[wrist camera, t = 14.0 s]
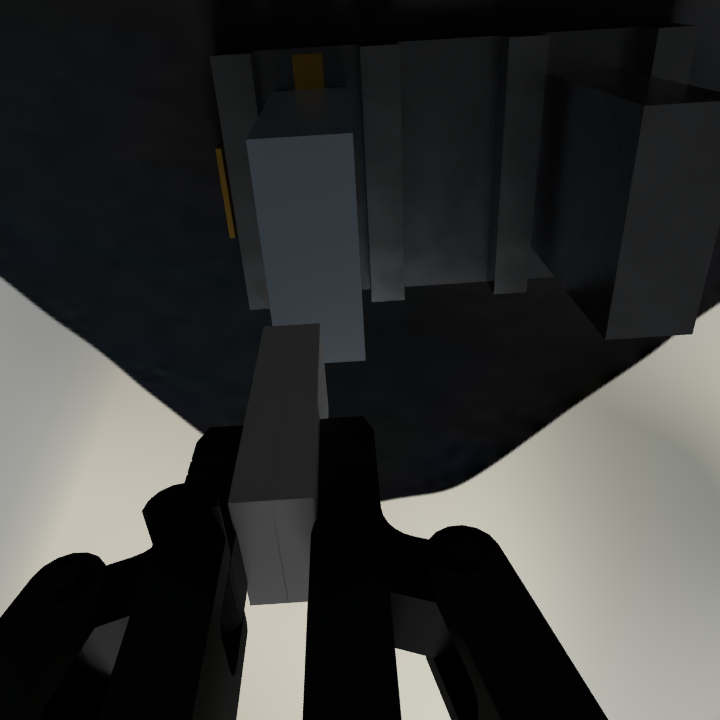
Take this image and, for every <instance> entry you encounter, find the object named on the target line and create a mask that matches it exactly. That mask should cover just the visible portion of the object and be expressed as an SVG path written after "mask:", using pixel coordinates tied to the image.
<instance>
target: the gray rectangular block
mask: <svg viewBox="0 0 720 720" xmlns="http://www.w3.org/2000/svg"><path fill="white" fill-rule="evenodd" d="M246 144H247V151H248V158H249V165H250V172H251V179H252V186H253V193H254V200H255V206H256V213H257V220H258V227H259V234H260V241H261V248H262V255H263V262H264V269H265V276H266V283H267V290H268V297H269V304H270V311H271V318H272V325H273V326H284V325H299V324H314V323H320V327H321V337H322V348H323V358H324V363H332V362H347V361H363V360H365V344H364V326H363V308H362V290H361V272H360V254H359V236H358V219H357V201H356V183H355V165H354V147H353V131H352V124H351V116H350V109H349V101H348V94H347V87H338V88H322V89H306V90H290V91H274V92H272V94H271V96H270V97H269V99H268V101H267V103H266V104H265V106H264V108H263V110H262V112H261V113H260V115H259V117H258V119H257V121H256V122H255V124H254V126H253V128H252V130H251V131H250V133H249V135H248V137H247V139H246Z"/></svg>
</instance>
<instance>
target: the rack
mask: <svg viewBox="0 0 720 720" xmlns="http://www.w3.org/2000/svg"><path fill="white" fill-rule="evenodd" d="M698 27H699V26H697V25H684V24H675V23H667V24H651V25H635V26H619V27H603V28H587V29H570V30H554V31H538V32H522V33H506V34H490V35H474V36H458V37H442V38H426V39H410V40H394V41H378V42H362V43H346V44H329V45H313V46H297V47H281V48H265V49H249V50H233V51H217V52H214V53H212V55H211V56H210V61H211V67H212V73H213V80H214V86H215V92H216V99H217V105H218V111H219V117H220V124H221V130H222V136H223V142H220V144H219V145H218V146H217V147H216V149H215V150H216V156H217V162H218V168H219V174H220V181H221V187H222V193H223V199H224V205H225V211H226V217H227V223H228V229H229V235H230V238H235V237H236V235H237V232H238V237H239V243H240V250H241V256H242V262H243V269H244V275H245V281H246V287H247V294H248V300H249V306H250V310H254V309H269V308H270V304H269V297H268V290H267V283H266V276H265V269H264V262H263V255H262V248H261V241H260V234H259V227H258V220H257V213H256V206H255V200H254V193H253V186H252V179H251V172H250V165H249V158H248V151H247V144H246V139H247V137H248V135H249V133H250V131H251V130H252V128H253V126H254V124H255V122H256V121H257V119H258V117H259V115H260V113H261V112H262V110H263V108H264V106H265V104H266V103H267V101H268V99H269V97H270V96H271V94H272V92H274V91H290V90H306V89H322V88H338V87H347V94H348V101H349V109H350V116H351V124H352V131H353V147H354V165H355V183H356V201H357V219H358V236H359V254H360V272H361V289H370V290H371V297H372V302H378V301H394V300H405V296H404V287H406V286H422V285H438V284H453V283H469V282H484V281H487V282H488V284H489V286H490V288H491V290H492V292H493V293H494V294H503V293H519V292H526V290H527V279H531V278H547V277H555V278H556V279H557V280H558V282H559V283H560V284H561V285H562V287H563V288H564V289H565V290H566V292H567V293H568V294H569V295H570V296H571V298H572V299H573V300H574V301H575V303H576V304H577V305H578V306H579V308H580V309H581V310H582V311H583V313H584V314H585V315H586V316H587V318H588V319H589V320H590V321H591V323H592V324H593V325H594V326H595V328H596V329H597V330H598V331H599V333H600V334H601V335H602V336H603V338H604V339H605V340H609V339H624V338H640V337H655V336H671V335H686V334H692V333H693V329H694V325H695V321H696V317H697V313H698V309H699V305H700V301H701V297H702V293H703V289H704V285H705V281H706V277H707V273H708V269H709V265H710V261H711V256H712V252H713V248H714V244H715V240H716V236H717V232H718V228H719V224H720V92H717V91H713V90H709V89H705V88H700V87H696V86H692V85H687V83H688V78H689V73H690V68H691V63H692V58H693V53H694V48H695V43H696V38H697V33H698Z"/></svg>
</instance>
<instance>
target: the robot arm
mask: <svg viewBox="0 0 720 720" xmlns="http://www.w3.org/2000/svg"><path fill="white" fill-rule="evenodd" d="M142 512H143V516H144V519H145V522H146V525H147V528H148V531H149V534H150V537H151V540H152V543H153V546H152V548H150V549H149V550H147V551H146V552H144V553H142V554H139V555H137V556H134V557H132V558H128V559H126V560H122V561H119V562H116V563H113V564H110V565H107V566H106V565H105V564H104V562H103V561H102V560H101V559H100V557H98V556H96V555H93V554H90V553H72V554H69V555H66V556H63V557H60V558H57V559H56V560H54V561H52V562H51V563H49V564H47V565H45V566H44V567H43V568H42V569H40V571H38V572H37V573H36V574H35V575H34V576H33V577H32V578H31V580H30V581H29V582H28V583H27V585H26V586H25V587H24V588H23V590H22V591H21V592H20V593H19V595H18V596H17V597H16V599H15V600H14V601H13V602H12V604H11V605H10V606H9V607H8V609H7V610H6V611H5V612H4V614H3V615H2V616H1V617H0V720H236V716H237V708H238V701H239V693H240V685H241V677H242V670H243V662H244V654H245V647H246V639H247V622H246V616H245V612H244V607H245V601H246V593H247V592H248V596H249V600H250V605H262V604H277V603H291V602H306V601H308V611H307V635H306V657H305V680H304V681H305V682H304V703H303V720H401V711H400V699H399V688H398V678H397V667H396V656H395V648H398V649H402V650H406V651H410V652H414V653H417V654H421V655H425V656H426V658H427V661H428V663H429V666H430V668H431V671H432V673H433V676H434V678H435V681H436V683H437V686H438V688H439V690H440V693H441V695H442V698H443V700H444V703H445V705H446V708H447V710H448V713H449V715H450V718H451V720H608V719H607V717H606V715H605V714H604V712H603V711H602V709H601V707H600V706H599V704H598V703H597V701H596V699H595V698H594V696H593V695H592V693H591V692H590V690H589V688H588V687H587V685H586V684H585V682H584V680H583V679H582V677H581V676H580V674H579V672H578V671H577V669H576V668H575V666H574V664H573V663H572V661H571V660H570V658H569V656H568V655H567V654H566V652H565V650H564V648H563V647H562V645H561V644H560V642H559V641H558V639H557V637H556V636H555V634H554V633H553V631H552V629H551V628H550V626H549V624H548V623H547V621H546V620H545V618H544V617H543V615H542V613H541V612H540V610H539V608H538V607H537V605H536V604H535V602H534V600H533V599H532V597H531V596H530V594H529V592H528V591H527V589H526V588H525V586H524V584H523V583H522V582H521V580H520V578H519V576H518V575H517V573H516V572H515V570H514V568H513V567H512V565H511V564H510V562H509V560H508V559H507V557H506V556H505V554H504V553H503V551H502V549H501V548H500V546H499V545H498V543H496V541H495V540H494V539H493V538H492V537H491V536H490V535H489V534H487V533H485V532H483V531H481V530H479V529H477V528H474V527H468V526H463V525H461V526H450V527H447V528H444V529H442V530H440V531H438V532H436V533H435V534H434V535H433V536H432V537H431V538H430V539H429V540H428V539H423V538H418V537H414V536H410V535H407V534H404V533H402V532H400V531H398V530H396V529H395V528H393V527H392V526H391V525H390V524H389V523H388V522H387V521H386V519H385V517H384V516H383V514H382V510H381V504H380V494H379V483H378V472H377V462H376V451H375V440H374V430H373V428H372V427H371V426H370V424H369V423H368V422H367V420H366V419H365V418H364V417H363V416H357V417H342V418H328V399H327V389H326V379H325V368H324V358H323V348H322V337H321V327H320V323H314V324H299V325H284V326H268V327H264V328H263V333H262V338H261V343H260V348H259V353H258V358H257V363H256V367H255V372H254V377H253V382H252V387H251V392H250V397H249V402H248V407H247V412H246V416H245V421H244V425H243V426H228V427H213V428H209V429H208V431H207V432H206V433H205V434H204V435H203V436H202V437H201V438H200V439H199V441H198V442H197V444H196V447H195V450H194V453H193V457H192V462H191V464H190V467H189V471H188V475H187V477H186V481H185V483H183V484H178V485H173V486H171V487H169V488H166V489H164V490H162V491H160V492H159V493H157V494H156V495H155V496H154V497H152V498H151V499H150V500H149V501H148V502H147V504H146V506H145V507H144V509H143V510H142Z"/></svg>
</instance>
